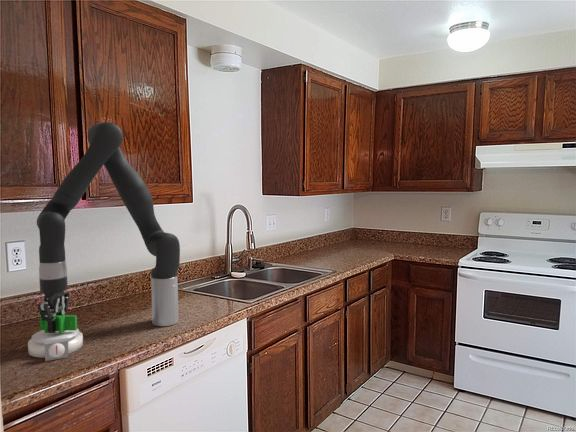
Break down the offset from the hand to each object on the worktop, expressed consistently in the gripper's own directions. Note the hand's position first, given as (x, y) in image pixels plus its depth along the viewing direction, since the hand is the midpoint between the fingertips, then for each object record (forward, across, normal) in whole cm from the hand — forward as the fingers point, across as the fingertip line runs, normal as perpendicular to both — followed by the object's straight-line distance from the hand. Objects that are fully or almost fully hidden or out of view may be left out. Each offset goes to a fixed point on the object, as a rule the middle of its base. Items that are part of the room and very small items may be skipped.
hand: (56, 329), depth 133 cm
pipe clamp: (+1, 0, 0) cm, 1 cm away
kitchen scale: (+6, -1, -1) cm, 6 cm away
